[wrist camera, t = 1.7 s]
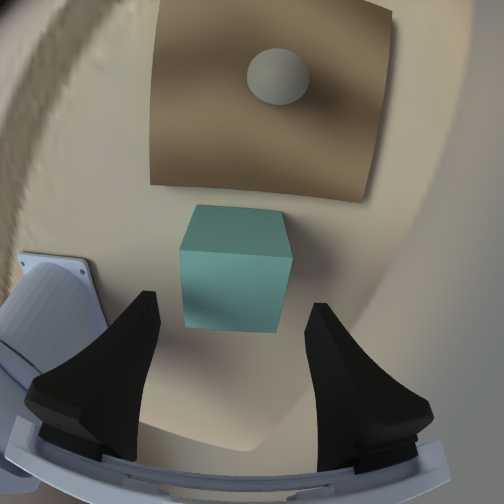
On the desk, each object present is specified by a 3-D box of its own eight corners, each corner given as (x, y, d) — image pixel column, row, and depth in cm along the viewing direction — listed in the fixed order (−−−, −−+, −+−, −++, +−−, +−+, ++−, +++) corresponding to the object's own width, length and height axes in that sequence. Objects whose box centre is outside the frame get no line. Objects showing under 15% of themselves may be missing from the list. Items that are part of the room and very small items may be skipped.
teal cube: (269, 277, 19) (276, 332, 15) (197, 272, 19) (185, 327, 14) (280, 211, 16) (292, 258, 12) (196, 204, 16) (179, 249, 12)
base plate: (355, 196, 16) (382, 227, 13) (155, 179, 15) (131, 206, 12) (384, 14, 9) (420, 0, 6) (169, -15, 9) (146, -41, 5)
